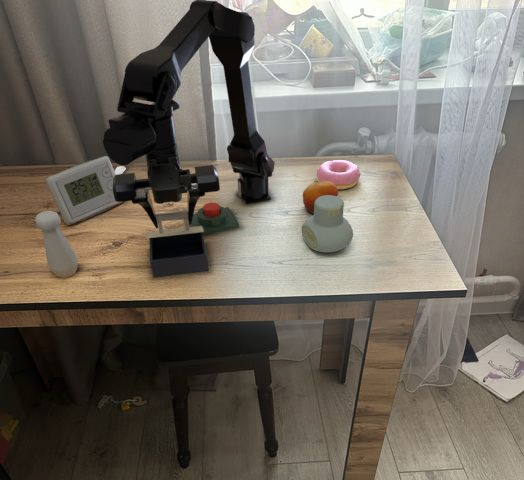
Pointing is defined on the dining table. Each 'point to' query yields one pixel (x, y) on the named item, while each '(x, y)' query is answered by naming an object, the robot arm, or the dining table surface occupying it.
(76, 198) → the digital clock
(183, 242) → the dark rimmed tray
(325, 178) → the doughnut
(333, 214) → the air freshener
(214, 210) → the alarm button
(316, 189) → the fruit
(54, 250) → the salt shaker
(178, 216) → the beige panel
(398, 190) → the dining table surface
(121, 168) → the spoon
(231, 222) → the alarm box
